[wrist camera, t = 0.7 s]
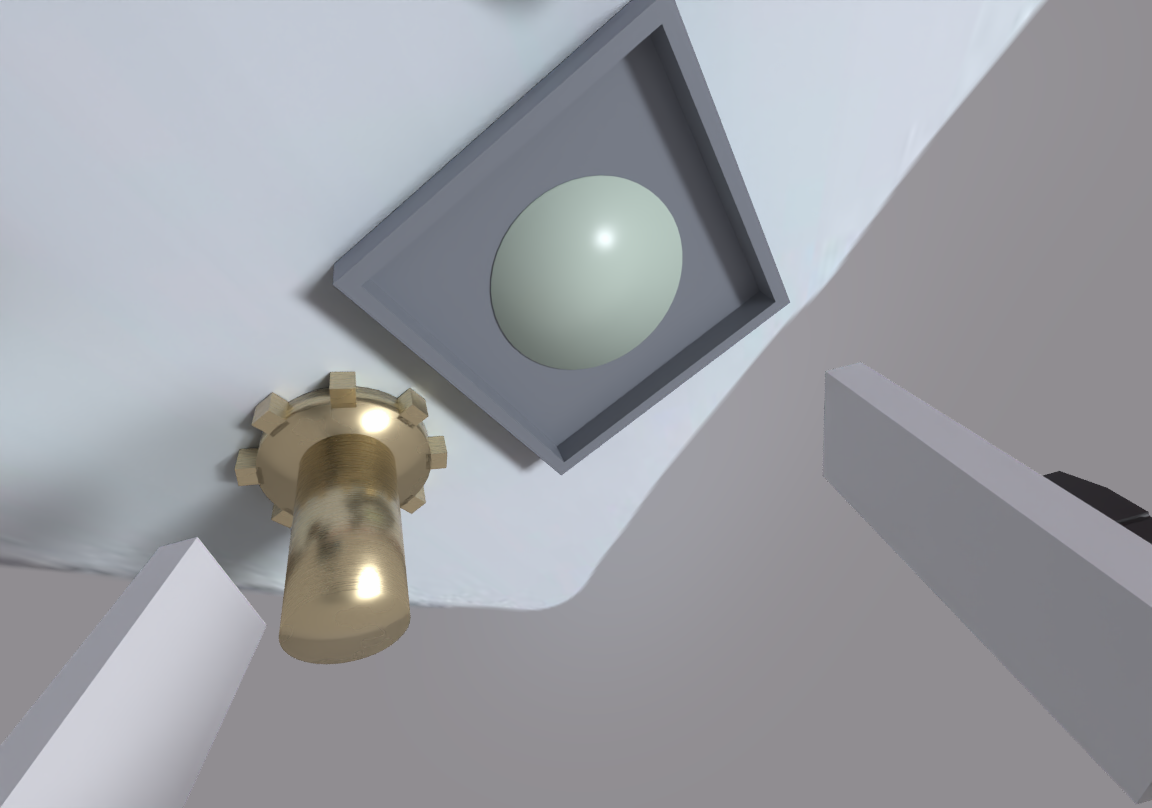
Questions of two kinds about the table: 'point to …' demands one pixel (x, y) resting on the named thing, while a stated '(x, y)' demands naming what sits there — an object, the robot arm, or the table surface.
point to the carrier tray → (579, 245)
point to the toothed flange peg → (342, 511)
